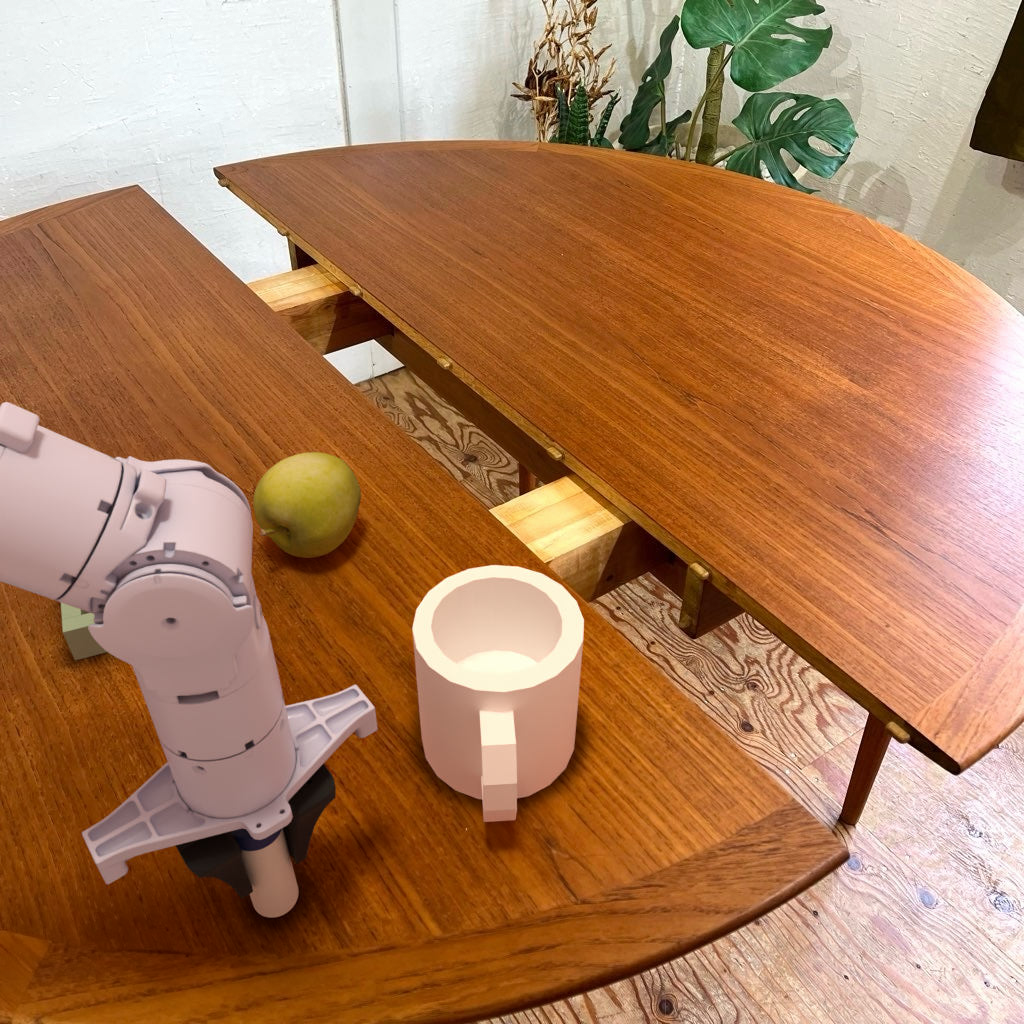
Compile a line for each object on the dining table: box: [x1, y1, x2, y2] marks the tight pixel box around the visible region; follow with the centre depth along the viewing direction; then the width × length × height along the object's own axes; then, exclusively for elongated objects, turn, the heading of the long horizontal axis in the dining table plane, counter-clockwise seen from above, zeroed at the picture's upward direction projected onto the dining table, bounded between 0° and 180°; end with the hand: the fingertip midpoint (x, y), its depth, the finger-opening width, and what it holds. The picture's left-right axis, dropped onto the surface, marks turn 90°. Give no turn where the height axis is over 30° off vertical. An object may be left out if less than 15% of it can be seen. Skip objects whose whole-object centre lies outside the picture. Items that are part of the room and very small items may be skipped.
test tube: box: [230, 828, 300, 919], centre depth 52 cm, size 3×3×8 cm
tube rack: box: [60, 602, 108, 661], centre depth 74 cm, size 15×6×3 cm, turn 22°
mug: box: [411, 564, 585, 823], centre depth 59 cm, size 14×10×11 cm
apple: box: [252, 451, 362, 559], centre depth 75 cm, size 8×9×8 cm
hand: (266, 864), depth 53 cm, fingers closed on test tube, 3 cm apart
